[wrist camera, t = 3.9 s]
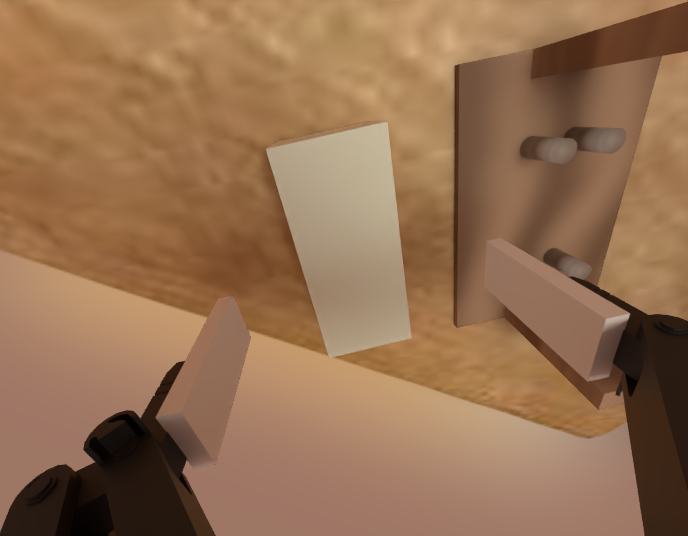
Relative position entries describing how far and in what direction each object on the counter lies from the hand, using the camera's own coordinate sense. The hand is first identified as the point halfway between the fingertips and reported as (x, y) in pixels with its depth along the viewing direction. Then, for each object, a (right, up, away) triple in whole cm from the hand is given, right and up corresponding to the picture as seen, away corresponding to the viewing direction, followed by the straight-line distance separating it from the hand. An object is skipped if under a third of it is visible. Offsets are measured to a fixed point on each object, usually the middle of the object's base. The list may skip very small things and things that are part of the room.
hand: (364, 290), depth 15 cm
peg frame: (+14, +6, +7) cm, 17 cm away
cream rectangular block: (-1, +4, +7) cm, 8 cm away
